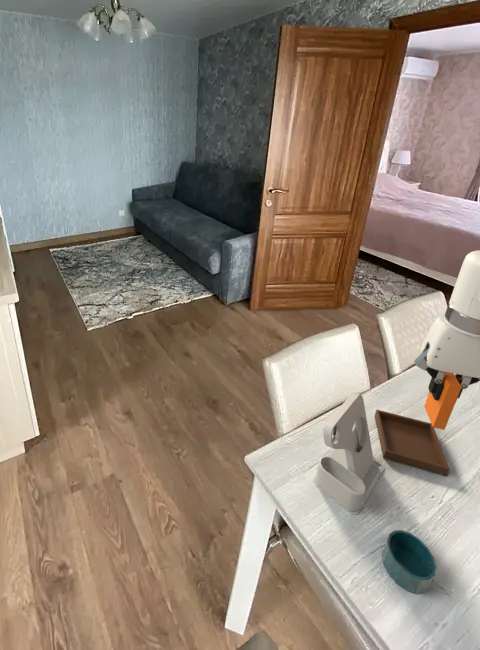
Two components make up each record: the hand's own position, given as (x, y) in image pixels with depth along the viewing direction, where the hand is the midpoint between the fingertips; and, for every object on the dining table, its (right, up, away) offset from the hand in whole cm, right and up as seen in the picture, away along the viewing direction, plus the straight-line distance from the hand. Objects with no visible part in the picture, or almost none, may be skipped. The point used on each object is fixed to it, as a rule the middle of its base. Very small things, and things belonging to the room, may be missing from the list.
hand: (442, 396), depth 68 cm
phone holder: (-13, -24, +12) cm, 30 cm away
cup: (-10, -31, -4) cm, 33 cm away
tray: (+7, -21, +20) cm, 30 cm away
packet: (0, -5, +2) cm, 6 cm away
